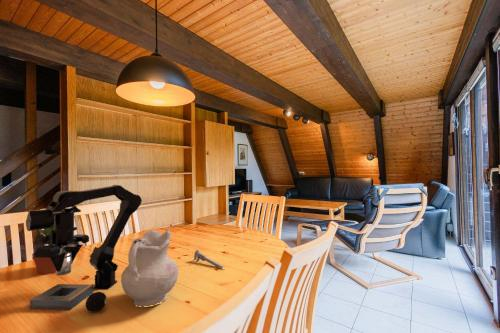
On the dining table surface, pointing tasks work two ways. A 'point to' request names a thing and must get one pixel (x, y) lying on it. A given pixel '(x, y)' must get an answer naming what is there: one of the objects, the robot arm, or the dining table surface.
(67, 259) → the grey cylinder
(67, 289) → the jig
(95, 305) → the billiard ball
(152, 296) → the ceramic pitcher
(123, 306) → the dining table surface
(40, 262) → the potted plant
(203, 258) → the caliper
